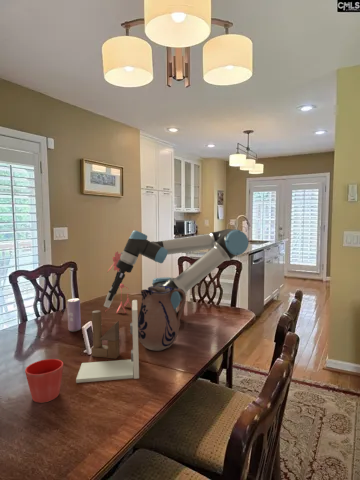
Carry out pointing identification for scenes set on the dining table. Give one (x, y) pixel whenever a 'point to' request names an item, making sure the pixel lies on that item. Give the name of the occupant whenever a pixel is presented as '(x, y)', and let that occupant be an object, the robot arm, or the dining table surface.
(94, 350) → the wooden block
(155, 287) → the ceramic pitcher
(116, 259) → the figurine
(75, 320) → the beverage can
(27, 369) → the flower pot
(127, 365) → the white l-shaped bracket
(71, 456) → the dining table surface
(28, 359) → the dining table surface
